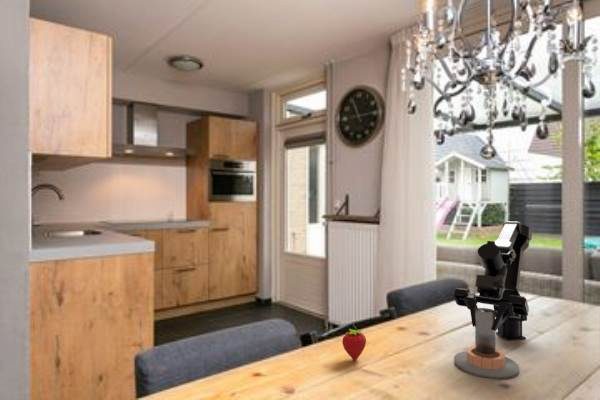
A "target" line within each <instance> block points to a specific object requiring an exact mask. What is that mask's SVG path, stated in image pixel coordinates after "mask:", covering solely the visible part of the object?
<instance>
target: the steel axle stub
mask: <svg viewBox="0 0 600 400" xmlns="http://www.w3.org/2000/svg"><path fill="white" fill-rule="evenodd" d="M495 319H496V317H495V311H494V309H492V308H487V307H486V308H485V307H478V308H476V309H475V327H474V329H475V330H474V340H475V341H474V343H475V344H474V346H475V350H476V351H477V352H479V353H482V354H495V353H496V348H497V347H496V346H497V345H496V338H497V337H496V331H494V329H493V328H494V322H495Z"/></svg>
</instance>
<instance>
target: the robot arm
mask: <svg viewBox="0 0 600 400" xmlns="http://www.w3.org/2000/svg"><path fill="white" fill-rule="evenodd" d="M532 239H533V233H532V230H531V228H530V226H527V225H525V224H523V223H522V222H521V221H512V220H506V221H503V224H502V228H501V230H500V233H499V235H498V237H497V239H496V240H487V242H486V243H485V244H482V245H481V246H480V247H479V248H478V249H477V255H478V257H479V260H480V264H481V266H482V268H483V269H484V273H483V274H476V279H475V284H474V285H475V287H476V292H477V293H479V295H477V294H476V293H473V292H470V289H468V288H461V287H455V288H454V290H453V291H452V296H453V299H454V301H455V303H456V305H458V306H459V307H460V306H461V307H466V308H467V309H468V310H469V311H470V318H471V319H470V320H471V324H472V327H473V328H475V309H476V308H479V306H478V303H480V304H483V305H491V306H492V307H493V310H494V311H495V322H494V328H493V329H494V331H495V335H496V336H497V335H498V336H499V337H501V338H503V339H505V340H506V341H507V340H508V341H513V340H514V341H515V340H526V339H527V338H526V336H524V335H523V322H527V321H528V316H529V312H530V311H529V310H530V309H529V308H530V307H529V303H528V300H527V298H526V297H525V296H523V295H521V294H520V292H519V288H520V287H519V286H520V279H521V278H520V277H521V269H522V262H523V255H524V254H523V253H524V252H525V250H527V249H528V248H529V247H530V241H532Z"/></svg>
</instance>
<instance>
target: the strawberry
mask: <svg viewBox="0 0 600 400" xmlns="http://www.w3.org/2000/svg"><path fill="white" fill-rule="evenodd" d="M353 327H354V328H355V329H351V328H349V329H348V331H347V332H345V335H343V337H342V347H343V349H344V351H346V353H347V354H348V356H349V357H350V358H351V360H353V361H357V360H358V359H359V358H360V356H361V354H362V352H364V349H365V348H366V344H367V338H366V336H365V334H364V333H363V330H362V329H361V330H359V329H358V330H357V327H356V326H355V325H353Z"/></svg>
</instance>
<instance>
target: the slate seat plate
mask: <svg viewBox="0 0 600 400" xmlns="http://www.w3.org/2000/svg"><path fill="white" fill-rule="evenodd" d="M453 363H454V365H455V366H456V367H457V368H458V369H460V370H461V371H463V372H465V373H468V374H469V375H472V376H477V377H482V378H484V379H485V378H486V379H492V380H493V379H494V380H495V379H496V380H505V379H512V378H514V377H517V376H518V375H519V374H520V366H519V364H518V363H517V362H516V361H515V360H513V359H512V358H509V357H507V356H506V355H505V353H504V352H502V351H501V350H499V349H496V353H495V354H482V353H479V352H477V351H476V350H475V345H474V346H470V347H468V348H466V350H465V351H460V352H458V353H456V354H454V356H453Z"/></svg>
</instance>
